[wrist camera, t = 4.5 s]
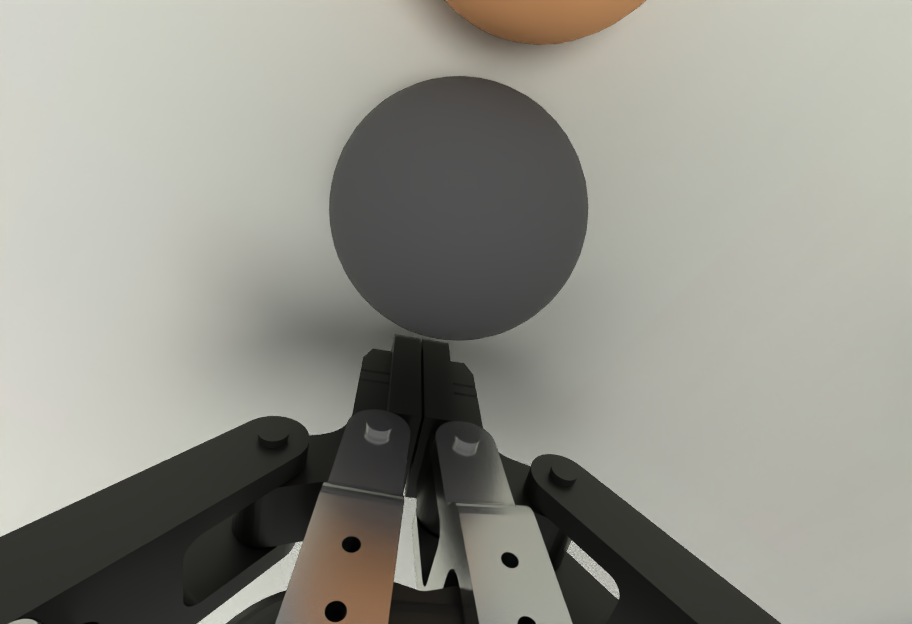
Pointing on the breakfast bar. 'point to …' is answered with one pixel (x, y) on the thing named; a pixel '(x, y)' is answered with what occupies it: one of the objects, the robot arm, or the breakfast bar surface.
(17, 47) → the breakfast bar surface
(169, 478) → the robot arm
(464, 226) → the ball
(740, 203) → the breakfast bar surface
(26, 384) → the breakfast bar surface
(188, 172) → the breakfast bar surface
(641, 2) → the ball
